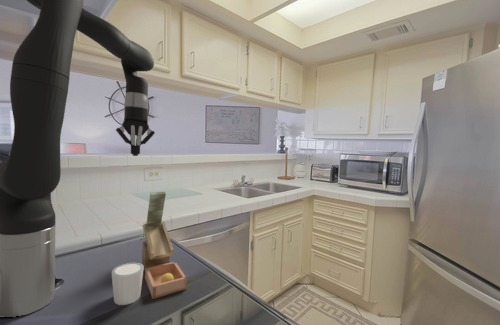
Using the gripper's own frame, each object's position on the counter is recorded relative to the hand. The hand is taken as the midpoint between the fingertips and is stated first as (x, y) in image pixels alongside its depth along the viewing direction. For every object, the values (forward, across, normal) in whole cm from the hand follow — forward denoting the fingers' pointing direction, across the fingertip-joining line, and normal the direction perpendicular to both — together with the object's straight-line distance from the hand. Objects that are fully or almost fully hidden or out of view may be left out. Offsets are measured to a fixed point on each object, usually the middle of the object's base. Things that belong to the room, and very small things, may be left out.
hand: (135, 155), depth 83 cm
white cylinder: (+33, -5, -32) cm, 46 cm away
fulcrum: (+33, +4, -19) cm, 38 cm away
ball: (+31, +4, -33) cm, 45 cm away
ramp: (+24, +4, -19) cm, 31 cm away
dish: (+33, +4, -31) cm, 45 cm away
